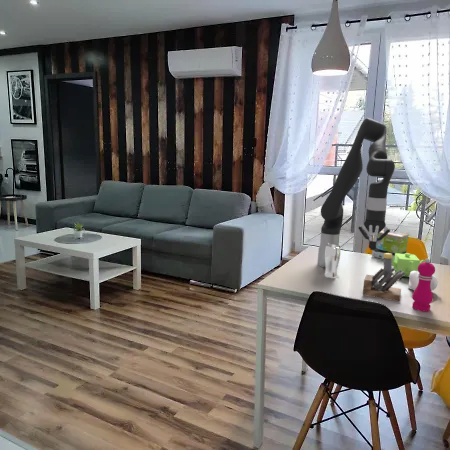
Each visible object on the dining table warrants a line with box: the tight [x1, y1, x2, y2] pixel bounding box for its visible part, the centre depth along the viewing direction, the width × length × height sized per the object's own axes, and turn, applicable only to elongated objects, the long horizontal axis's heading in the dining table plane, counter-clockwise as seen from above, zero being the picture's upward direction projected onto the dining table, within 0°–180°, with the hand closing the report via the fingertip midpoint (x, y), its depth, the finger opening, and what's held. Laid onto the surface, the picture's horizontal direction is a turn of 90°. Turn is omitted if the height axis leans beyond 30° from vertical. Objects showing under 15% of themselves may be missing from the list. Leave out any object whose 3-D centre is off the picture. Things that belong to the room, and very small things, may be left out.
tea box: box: [371, 229, 409, 260], centre depth 231 cm, size 15×10×15 cm, turn 43°
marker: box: [383, 253, 393, 284], centre depth 173 cm, size 3×3×12 cm
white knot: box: [407, 271, 439, 292], centre depth 181 cm, size 11×12×9 cm
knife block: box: [362, 267, 405, 302], centre depth 174 cm, size 15×9×11 cm, turn 65°
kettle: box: [392, 252, 425, 279], centre depth 201 cm, size 15×14×11 cm
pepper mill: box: [411, 258, 436, 312], centre depth 160 cm, size 7×7×20 cm
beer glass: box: [323, 244, 341, 280], centre depth 195 cm, size 7×7×15 cm
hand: (372, 249), depth 174 cm, fingers closed
